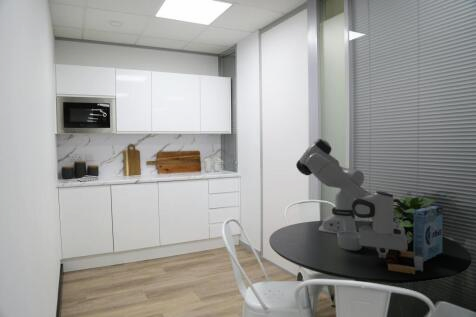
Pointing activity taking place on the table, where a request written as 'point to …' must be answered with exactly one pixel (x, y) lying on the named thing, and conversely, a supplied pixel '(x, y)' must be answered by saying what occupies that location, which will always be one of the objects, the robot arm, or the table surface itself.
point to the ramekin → (349, 240)
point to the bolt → (392, 256)
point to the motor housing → (417, 257)
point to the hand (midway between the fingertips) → (382, 257)
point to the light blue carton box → (428, 231)
